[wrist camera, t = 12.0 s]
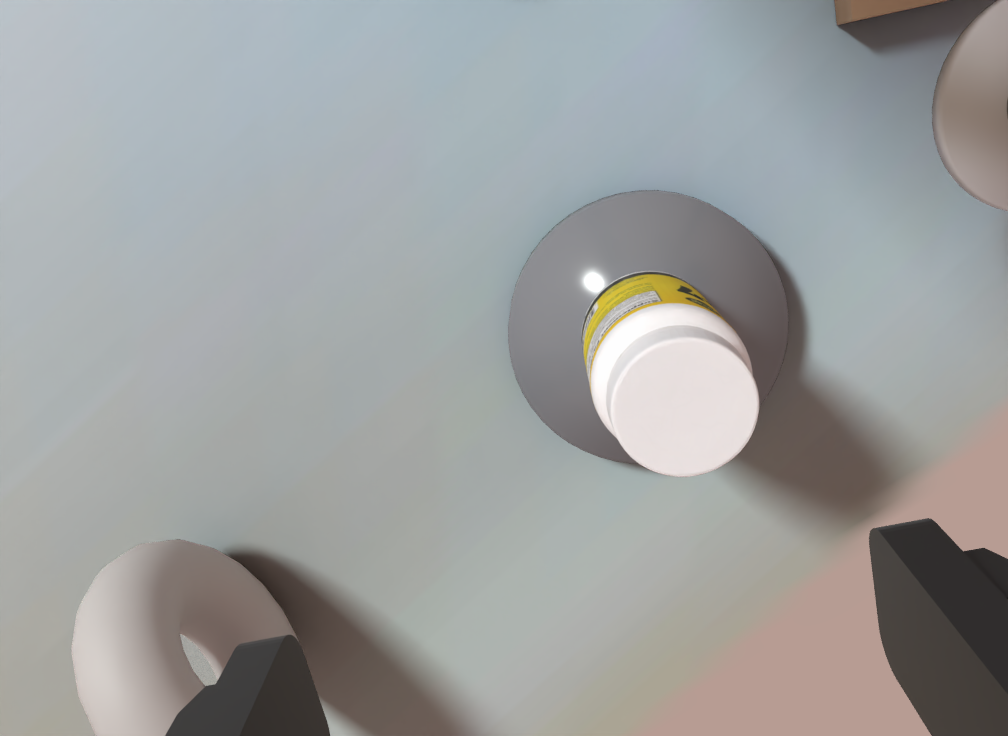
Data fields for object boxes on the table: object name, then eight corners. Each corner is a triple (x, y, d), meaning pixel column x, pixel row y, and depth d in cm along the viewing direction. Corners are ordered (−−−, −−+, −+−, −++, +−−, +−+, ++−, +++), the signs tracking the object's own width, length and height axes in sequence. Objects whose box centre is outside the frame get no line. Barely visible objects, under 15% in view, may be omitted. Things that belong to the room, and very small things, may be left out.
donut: (353, 656, 37) (289, 847, 28) (291, 695, 38) (209, 895, 28) (195, 480, 35) (67, 621, 25) (133, 525, 36) (-15, 679, 26)
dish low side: (483, 221, 32) (481, 225, 30) (761, 163, 31) (770, 166, 30) (537, 472, 34) (537, 484, 33) (794, 426, 33) (803, 437, 32)
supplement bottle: (737, 351, 31) (808, 435, 23) (626, 419, 32) (657, 524, 24) (668, 241, 30) (716, 289, 22) (554, 315, 31) (562, 387, 23)
